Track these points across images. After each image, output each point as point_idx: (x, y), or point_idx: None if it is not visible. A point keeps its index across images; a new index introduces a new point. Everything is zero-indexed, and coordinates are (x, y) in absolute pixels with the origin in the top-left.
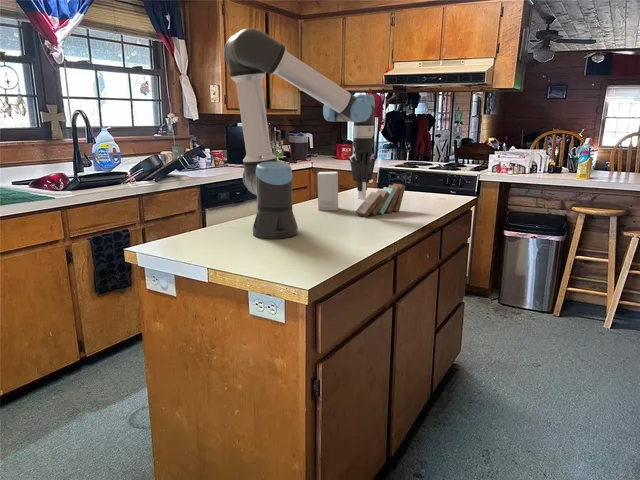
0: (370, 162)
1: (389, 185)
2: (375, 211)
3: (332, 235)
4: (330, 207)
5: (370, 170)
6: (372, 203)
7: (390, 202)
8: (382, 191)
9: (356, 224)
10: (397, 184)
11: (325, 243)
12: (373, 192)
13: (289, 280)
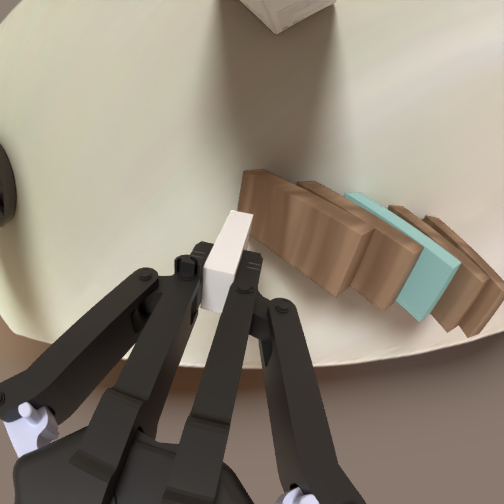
0: (285, 459)
1: (477, 284)
2: None
3: (57, 268)
4: (250, 10)
5: (268, 396)
6: (280, 256)
7: None
8: (387, 284)
9: (147, 252)
10: (483, 313)
11: (37, 285)
12: (352, 251)
13: (3, 315)
